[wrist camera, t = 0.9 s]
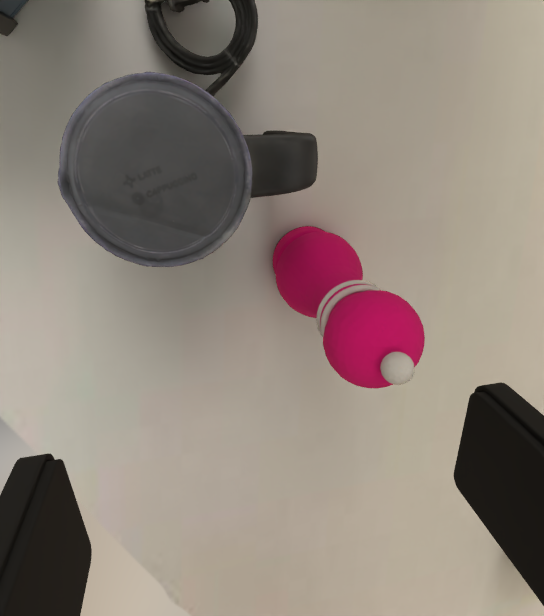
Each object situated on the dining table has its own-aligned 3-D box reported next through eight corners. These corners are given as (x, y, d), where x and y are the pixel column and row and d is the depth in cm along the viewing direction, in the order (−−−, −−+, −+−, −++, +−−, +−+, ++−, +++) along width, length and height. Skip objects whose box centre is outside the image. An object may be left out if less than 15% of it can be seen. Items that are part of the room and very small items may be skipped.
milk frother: (141, 227, 36) (119, 295, 22) (30, 15, 28) (-100, -69, 15) (296, 163, 36) (363, 194, 23) (225, -63, 29) (262, -211, 16)
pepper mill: (276, 213, 37) (363, 306, 20) (350, 227, 39) (490, 323, 21) (259, 288, 40) (322, 429, 22) (329, 298, 42) (439, 435, 24)
